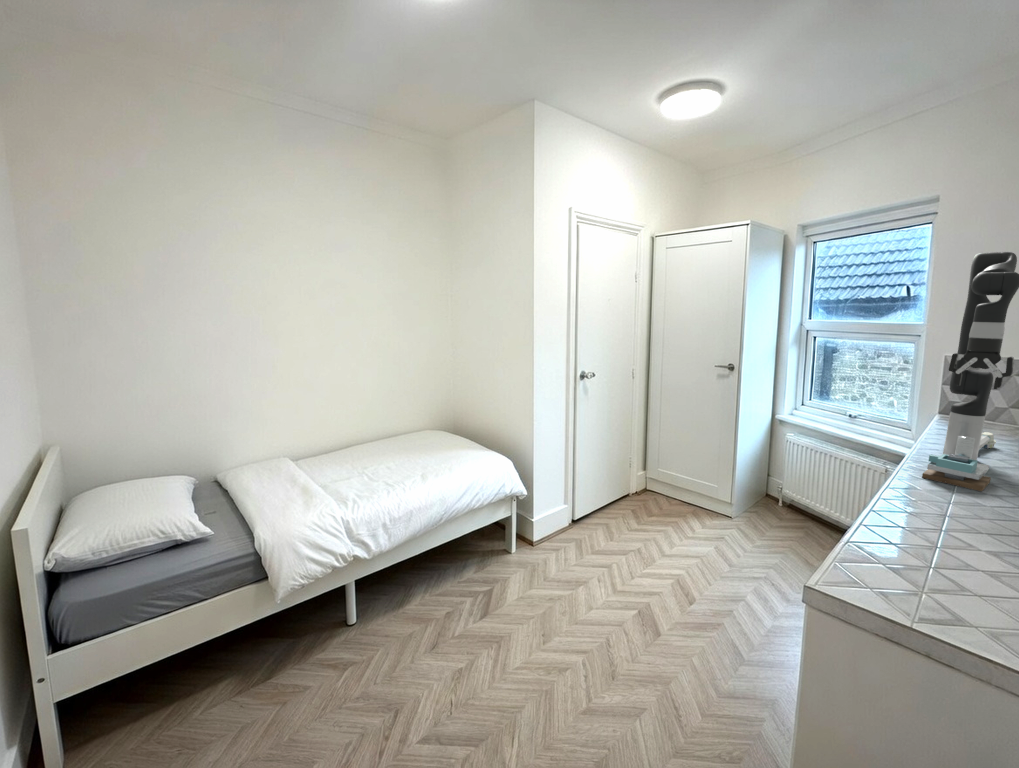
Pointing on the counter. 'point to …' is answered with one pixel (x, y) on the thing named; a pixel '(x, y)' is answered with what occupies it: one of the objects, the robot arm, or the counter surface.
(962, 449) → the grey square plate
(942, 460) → the bracket head
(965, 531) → the counter surface
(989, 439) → the cream flanged bar
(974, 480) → the foot plate
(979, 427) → the robot arm
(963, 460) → the brushed steel block
